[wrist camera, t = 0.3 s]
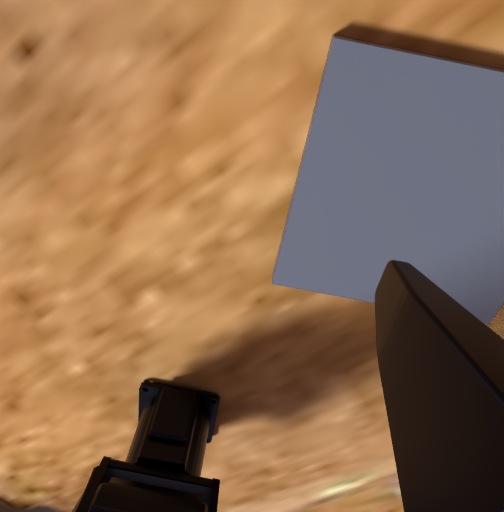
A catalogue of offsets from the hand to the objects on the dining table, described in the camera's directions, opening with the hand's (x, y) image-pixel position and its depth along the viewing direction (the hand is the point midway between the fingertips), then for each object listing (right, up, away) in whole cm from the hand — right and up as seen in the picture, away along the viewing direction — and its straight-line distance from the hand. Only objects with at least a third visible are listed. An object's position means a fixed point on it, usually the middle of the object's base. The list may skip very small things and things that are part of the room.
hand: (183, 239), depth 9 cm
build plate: (+11, +3, +14) cm, 18 cm away
